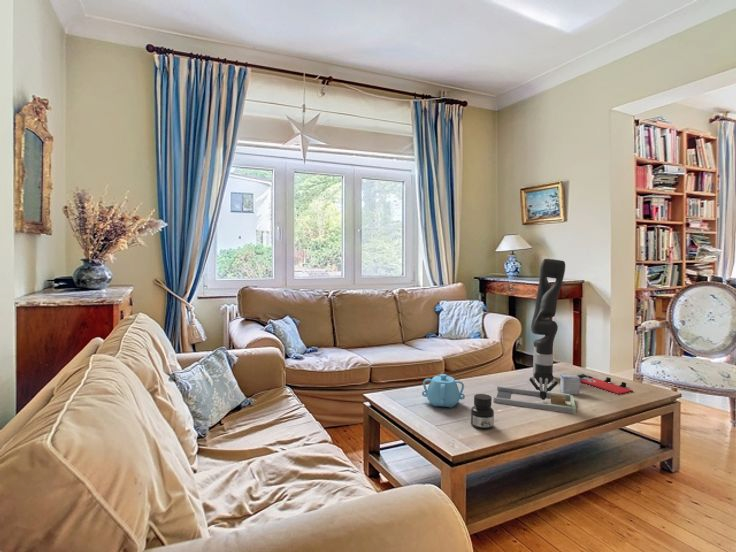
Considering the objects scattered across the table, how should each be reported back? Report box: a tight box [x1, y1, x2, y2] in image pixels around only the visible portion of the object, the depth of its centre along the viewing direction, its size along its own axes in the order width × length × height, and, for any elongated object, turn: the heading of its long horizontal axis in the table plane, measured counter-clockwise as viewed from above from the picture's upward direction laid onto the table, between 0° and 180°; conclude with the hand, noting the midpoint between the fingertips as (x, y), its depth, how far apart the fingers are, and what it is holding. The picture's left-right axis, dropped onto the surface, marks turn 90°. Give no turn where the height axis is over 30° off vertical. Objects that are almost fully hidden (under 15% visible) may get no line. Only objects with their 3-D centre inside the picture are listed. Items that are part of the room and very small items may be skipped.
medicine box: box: [559, 374, 581, 395], centre depth 207 cm, size 8×4×9 cm, turn 84°
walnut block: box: [550, 393, 567, 406], centre depth 192 cm, size 6×6×4 cm
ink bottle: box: [470, 393, 495, 431], centre depth 168 cm, size 10×9×12 cm
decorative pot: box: [421, 373, 466, 408], centre depth 192 cm, size 16×16×14 cm
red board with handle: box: [576, 373, 634, 396], centre depth 221 cm, size 30×3×15 cm
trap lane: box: [493, 385, 577, 415], centre depth 196 cm, size 19×34×2 cm, turn 67°
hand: (543, 399), depth 194 cm, fingers closed
